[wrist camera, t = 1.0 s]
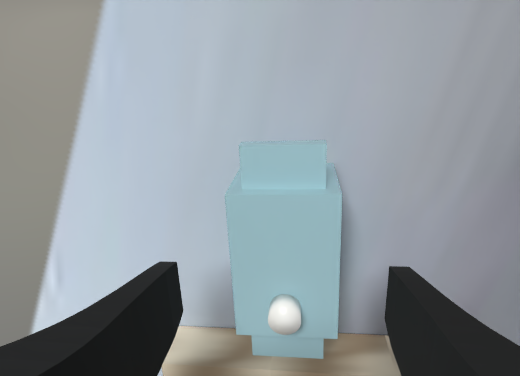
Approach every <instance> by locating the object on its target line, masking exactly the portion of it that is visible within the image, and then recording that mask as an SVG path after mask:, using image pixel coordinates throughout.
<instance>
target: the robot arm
mask: <svg viewBox="0 0 520 376" xmlns="http://www.w3.org/2000/svg"><path fill="white" fill-rule="evenodd" d="M182 313H183V306H182V298H181V290H180V283H179V275H178V268H177V262H159V263H157V264H155V265H153V266H152V267H150V268H149V269H147V270H146V271H144V272H143V273H141V274H140V275H138V276H137V277H135V278H134V279H132V280H131V281H129V282H128V283H126V284H125V285H123V286H122V287H120V288H119V289H117V290H116V291H114V292H112V293H111V294H109V295H107V296H106V297H104V298H102V299H101V300H99V301H98V302H96V303H94V304H93V305H91V306H89V307H87V308H86V309H84V310H82V311H80V312H78V313H77V314H75V315H73V316H71V317H69V318H67V319H65V320H63V321H61V322H59V323H57V324H55V325H52V326H50V327H48V328H45V329H43V330H41V331H38V332H36V333H34V334H31V335H29V336H27V337H24V338H22V339H20V340H17V341H15V342H12V343H9V344H6V345H4V346H1V347H0V376H157V375H158V373H159V371H160V369H161V367H162V364H163V362H164V360H165V358H166V356H167V354H168V352H169V349H170V347H171V345H172V343H173V341H174V338H175V336H176V333H177V330H178V327H179V323H180V320H181V317H182ZM385 322H386V326H387V331H388V336H389V340H390V344H391V348H392V351H393V354H394V356H395V359H396V362H397V365H398V368H399V370H400V373H401V376H520V346H519V345H517V344H515V343H513V342H512V341H510V340H508V339H507V338H505V337H503V336H502V335H500V334H498V333H497V332H495V331H493V330H492V329H490V328H489V327H487V326H486V325H484V324H483V323H481V322H480V321H478V320H477V319H475V318H474V317H473V316H471V315H470V314H468V313H467V312H465V311H464V310H463V309H461V308H460V307H459V306H457V305H456V304H455V303H453V302H452V301H451V300H449V299H448V298H447V297H446V296H444V295H443V294H442V293H441V292H439V291H438V290H437V289H436V288H434V287H433V286H432V285H431V284H430V283H428V282H427V281H426V280H425V279H424V278H422V277H421V276H420V275H419V274H417V273H416V272H415V271H414V270H412V269H411V268H410V267H392V266H389V277H388V288H387V299H386V310H385Z"/></svg>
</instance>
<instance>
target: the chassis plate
mask: <svg viewBox="0 0 520 376" xmlns="http://www.w3.org/2000/svg"><path fill="white" fill-rule="evenodd" d="M162 372H163V376H401V373H400V370H399V368H398V365H397V362H396V359H395V356H394V354H393V351H392V348H391V344H390V340H389V336H388V335H369V334H346V333H338V339H324V345H323V359H317V358H297V357H277V356H257V355H253V352H252V337H251V335H236V329H235V328H213V327H191V326H179V327H178V330H177V333H176V336H175V338H174V341H173V343H172V345H171V347H170V349H169V352H168V354H167V356H166V358H165V360H164V362H163V364H162Z"/></svg>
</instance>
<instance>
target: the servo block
mask: <svg viewBox="0 0 520 376" xmlns="http://www.w3.org/2000/svg"><path fill="white" fill-rule="evenodd" d="M326 152H327V144H326V140H314V141H267V142H241V144H240V145H239V156H240V169H239V171H238V173H237V175H236V176H235V178H234V180H233V182H232V183H231V185H230V187H229V189H228V190H227V192H226V194H225V204H226V216H227V228H228V240H229V252H230V264H231V276H232V288H233V300H234V312H235V324H236V335H251V337H252V352H253V355H257V356H277V357H297V358H317V359H323V345H324V339H338V311H339V279H340V247H341V215H342V192H341V189H340V185H339V182H338V178H337V175H336V171H335V168H334V164H333V163H326Z"/></svg>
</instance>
